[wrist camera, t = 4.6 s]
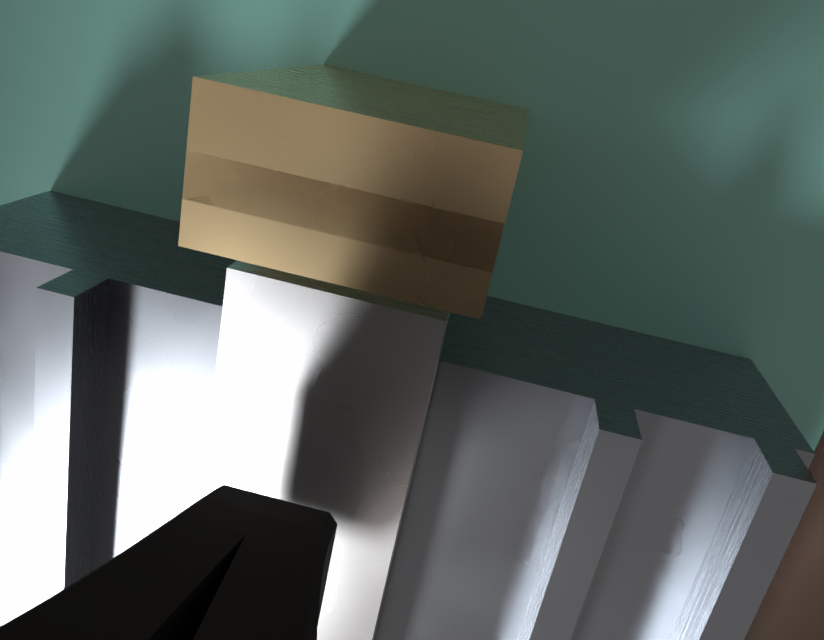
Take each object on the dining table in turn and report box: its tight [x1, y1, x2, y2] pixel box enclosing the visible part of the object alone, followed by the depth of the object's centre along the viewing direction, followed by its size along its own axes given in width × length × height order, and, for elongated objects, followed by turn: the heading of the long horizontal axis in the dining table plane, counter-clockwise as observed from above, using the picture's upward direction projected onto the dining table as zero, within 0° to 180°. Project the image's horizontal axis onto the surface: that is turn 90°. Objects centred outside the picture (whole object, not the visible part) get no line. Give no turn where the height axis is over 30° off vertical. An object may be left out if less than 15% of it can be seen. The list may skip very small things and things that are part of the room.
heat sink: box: [0, 64, 817, 640], centre depth 12 cm, size 12×17×5 cm
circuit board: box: [0, 0, 824, 451], centre depth 15 cm, size 15×24×1 cm, turn 169°
